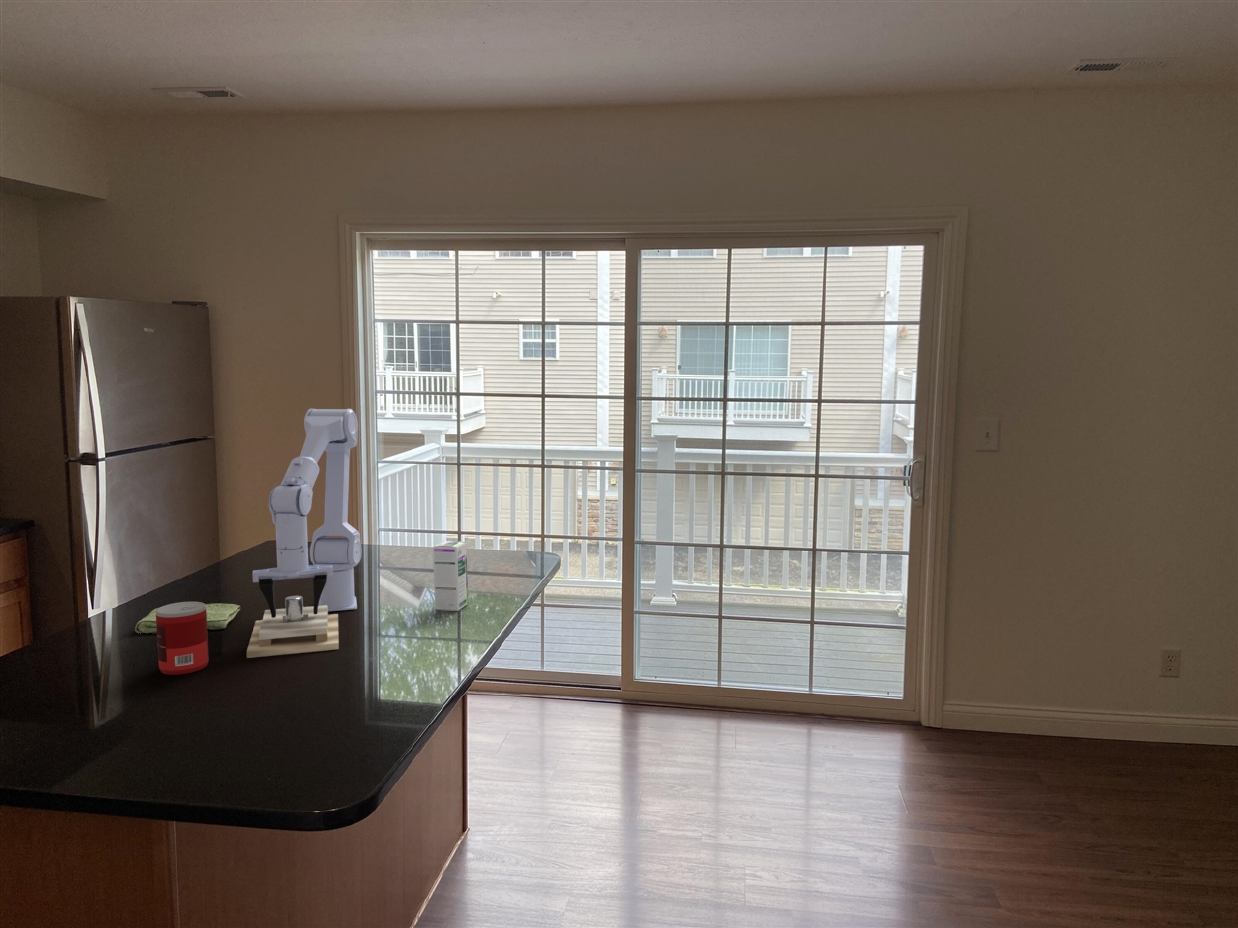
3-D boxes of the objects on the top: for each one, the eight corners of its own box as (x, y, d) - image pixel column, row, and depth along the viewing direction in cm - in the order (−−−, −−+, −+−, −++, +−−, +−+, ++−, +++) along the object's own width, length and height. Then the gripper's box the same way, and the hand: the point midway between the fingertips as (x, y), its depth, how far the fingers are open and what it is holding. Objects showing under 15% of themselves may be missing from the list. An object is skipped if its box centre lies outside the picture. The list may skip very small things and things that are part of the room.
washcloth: (228, 631, 171) (228, 616, 170) (132, 637, 167) (131, 622, 166) (242, 613, 184) (241, 599, 183) (153, 618, 180) (152, 603, 179)
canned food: (218, 662, 152) (215, 603, 150) (182, 678, 144) (179, 615, 143) (185, 657, 154) (182, 599, 153) (148, 672, 147) (145, 611, 145)
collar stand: (256, 626, 173) (255, 608, 173) (338, 619, 178) (337, 601, 178) (246, 657, 154) (245, 637, 154) (338, 648, 159) (338, 629, 159)
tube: (287, 635, 167) (286, 596, 166) (304, 634, 168) (303, 595, 167) (286, 640, 164) (284, 600, 163) (303, 639, 165) (301, 599, 164)
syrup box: (458, 611, 184) (457, 546, 183) (433, 609, 185) (432, 545, 184) (468, 604, 190) (467, 541, 188) (444, 602, 191) (442, 540, 189)
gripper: (249, 553, 158) (253, 623, 160) (331, 548, 163) (333, 616, 164) (253, 545, 165) (256, 613, 166) (331, 541, 169) (333, 607, 171)
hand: (294, 614), depth 166 cm, fingers open, 7 cm apart
